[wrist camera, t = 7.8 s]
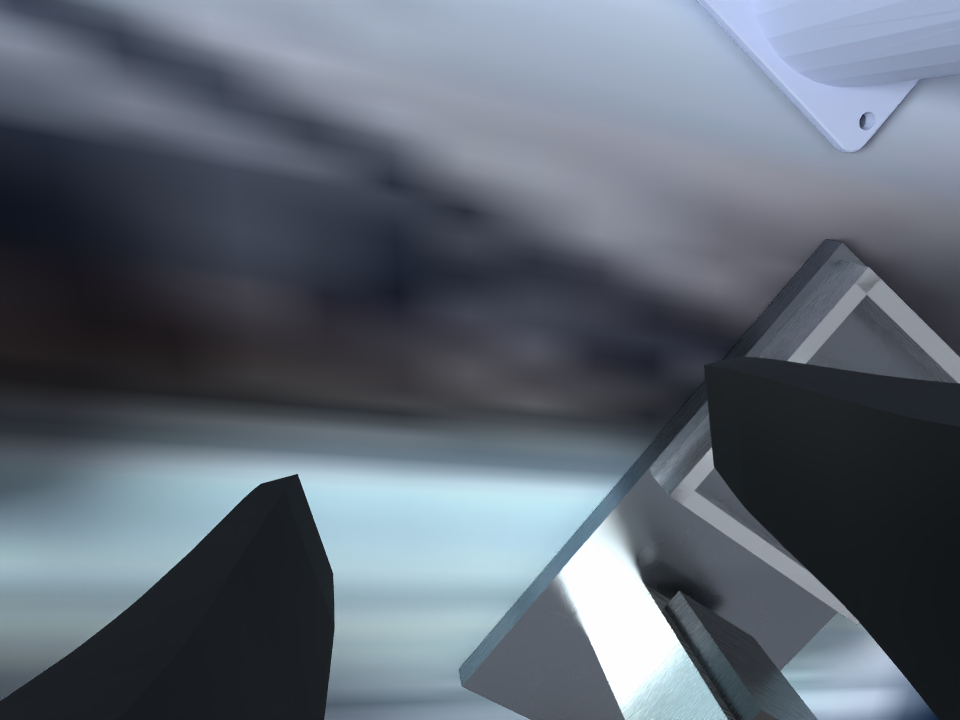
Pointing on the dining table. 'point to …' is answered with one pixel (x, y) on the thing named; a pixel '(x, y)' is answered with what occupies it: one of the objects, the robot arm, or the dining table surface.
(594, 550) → the grey hollow box
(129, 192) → the dining table surface
